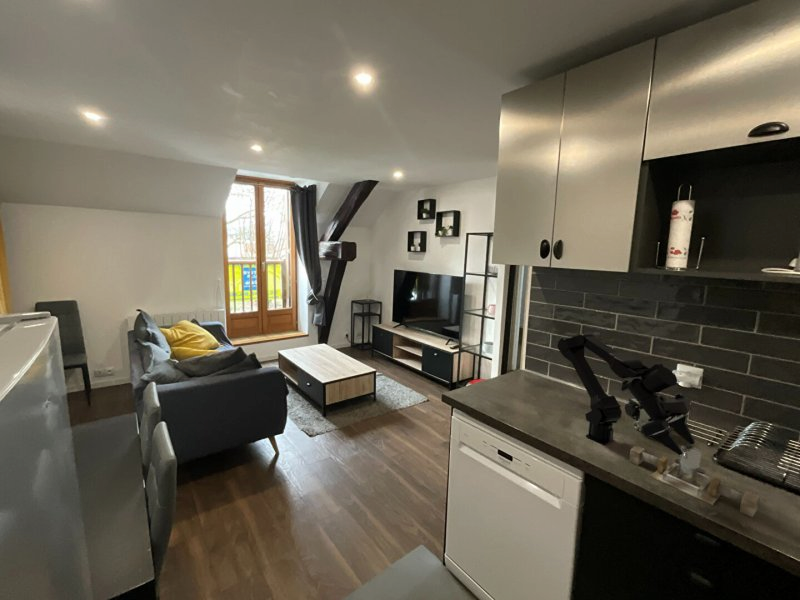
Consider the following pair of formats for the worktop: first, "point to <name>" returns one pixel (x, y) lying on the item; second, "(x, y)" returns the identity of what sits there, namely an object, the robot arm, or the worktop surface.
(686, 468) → the ujoint coupling
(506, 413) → the worktop surface
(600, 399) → the robot arm
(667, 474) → the shaft rig
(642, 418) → the pneumatic valve
